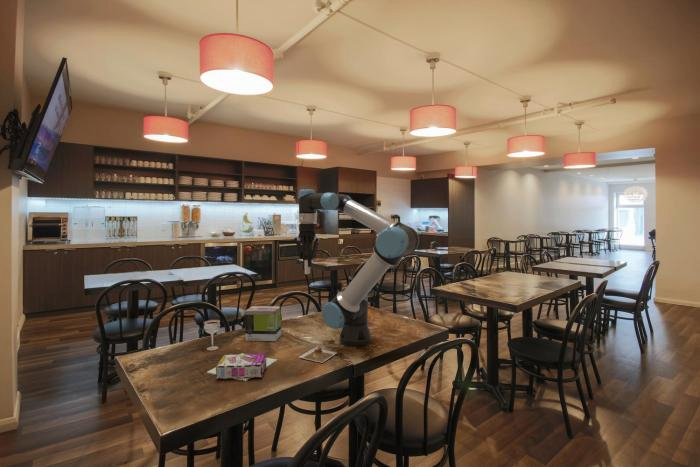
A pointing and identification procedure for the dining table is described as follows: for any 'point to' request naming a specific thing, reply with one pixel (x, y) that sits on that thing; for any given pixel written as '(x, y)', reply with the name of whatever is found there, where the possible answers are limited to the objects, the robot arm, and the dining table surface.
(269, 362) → the mat
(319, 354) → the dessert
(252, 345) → the dining table surface
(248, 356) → the candy bar box
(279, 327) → the tea box
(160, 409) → the dining table surface
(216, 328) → the wineglass
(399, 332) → the dining table surface
